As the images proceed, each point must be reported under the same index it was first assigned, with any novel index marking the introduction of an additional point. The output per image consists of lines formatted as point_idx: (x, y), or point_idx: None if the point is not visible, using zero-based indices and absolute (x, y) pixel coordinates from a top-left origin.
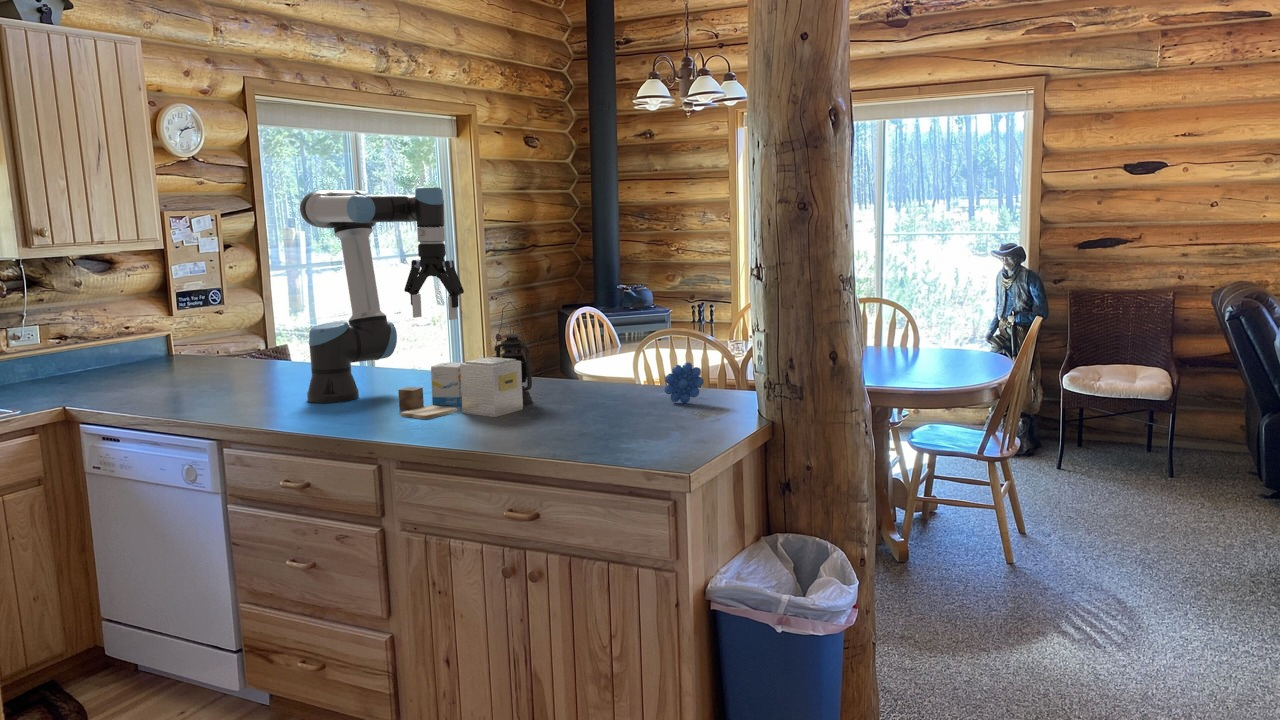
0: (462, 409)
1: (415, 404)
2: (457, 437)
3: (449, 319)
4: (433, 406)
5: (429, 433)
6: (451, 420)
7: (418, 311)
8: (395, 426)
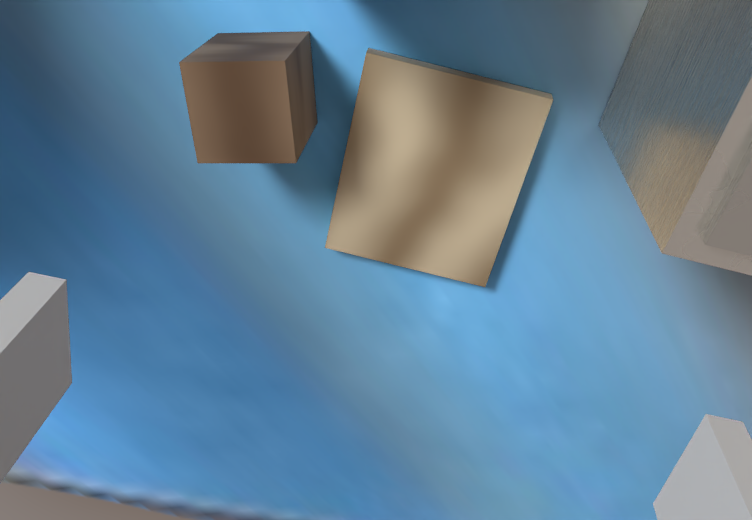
0: (602, 131)
1: (310, 122)
2: None
3: (663, 508)
4: (400, 87)
5: (615, 462)
6: (609, 274)
7: (28, 379)
8: (427, 395)
